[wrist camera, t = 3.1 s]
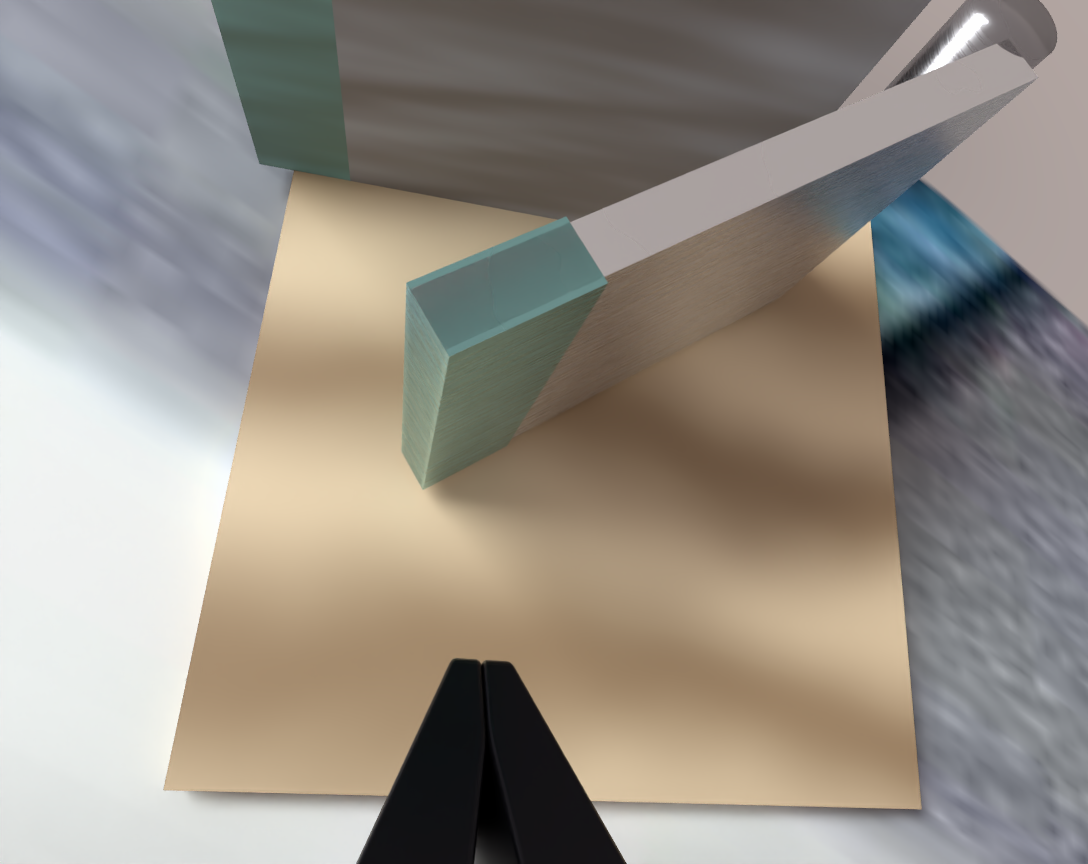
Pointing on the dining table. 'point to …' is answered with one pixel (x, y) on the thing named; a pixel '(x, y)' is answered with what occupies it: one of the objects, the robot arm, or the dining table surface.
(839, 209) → the jaw
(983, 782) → the dining table surface
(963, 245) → the dining table surface
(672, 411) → the base
